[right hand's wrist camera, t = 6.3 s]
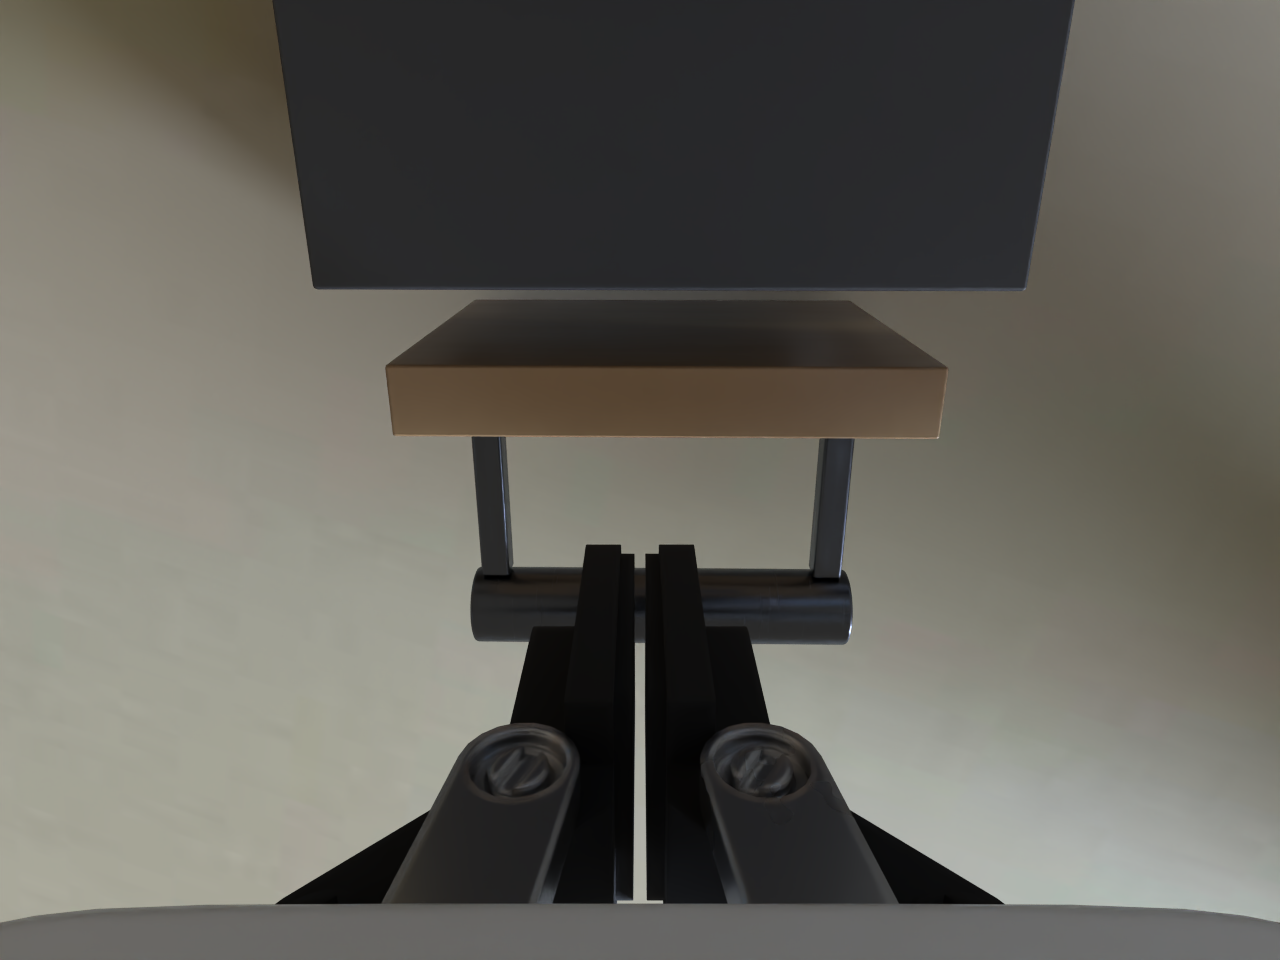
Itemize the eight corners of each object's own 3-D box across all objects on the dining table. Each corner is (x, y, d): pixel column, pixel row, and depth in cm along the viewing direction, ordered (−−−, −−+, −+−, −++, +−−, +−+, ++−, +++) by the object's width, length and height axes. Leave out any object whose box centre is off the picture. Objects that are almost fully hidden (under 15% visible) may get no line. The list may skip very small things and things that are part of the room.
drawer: (826, 562, 22) (899, 728, 15) (493, 559, 22) (425, 723, 15) (921, -473, 14) (1140, -997, 8) (418, -466, 14) (229, -978, 8)
